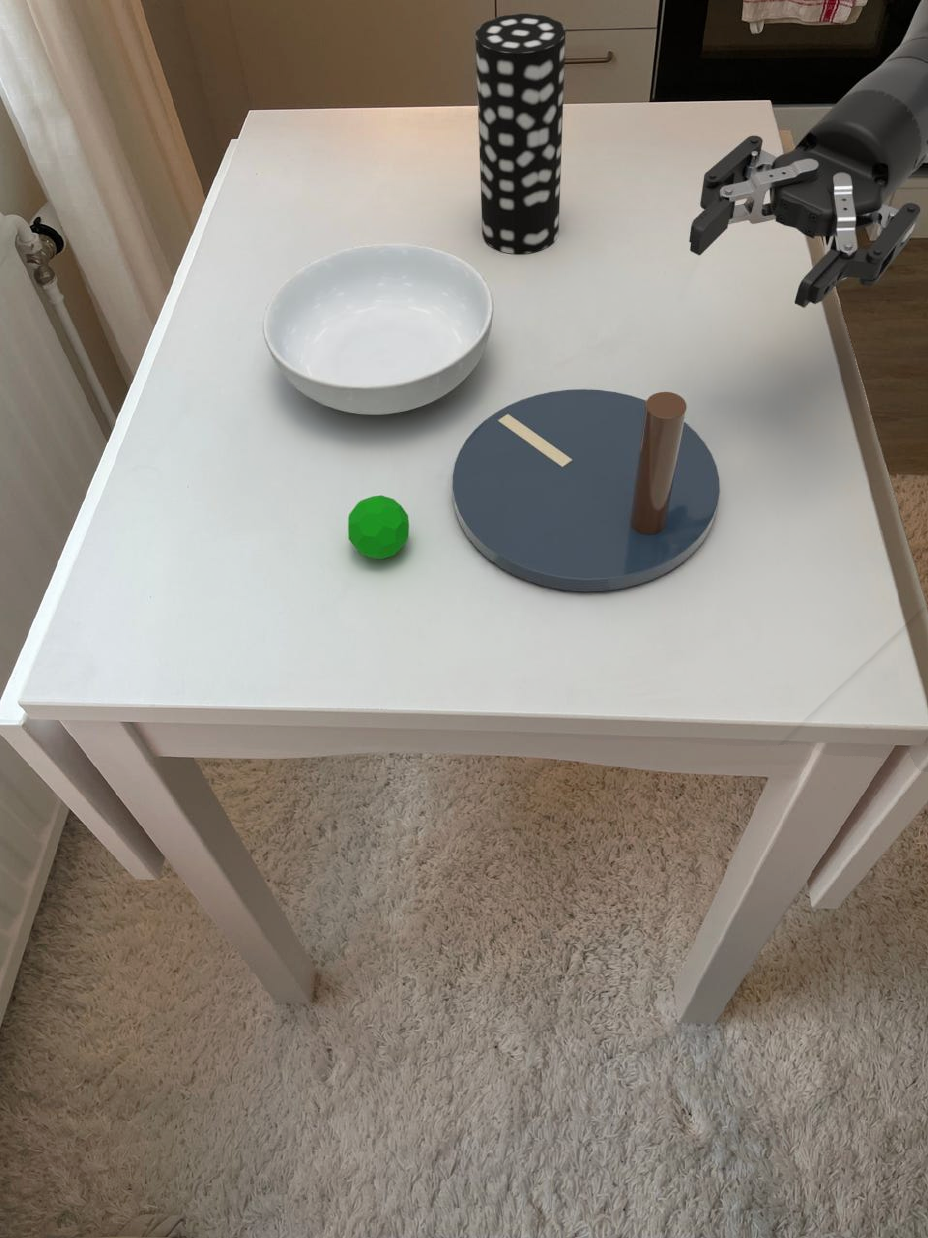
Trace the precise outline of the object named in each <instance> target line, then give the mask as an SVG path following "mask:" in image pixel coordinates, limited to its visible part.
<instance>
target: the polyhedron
mask: <svg viewBox="0 0 928 1238" xmlns="http://www.w3.org/2000/svg"><path fill="white" fill-rule="evenodd" d="M347 522H348V523H347V524H348V527H347V528H348V529H347V532H348V534H347V535H348V541H349V542H350V543H351V544H352V546H353V547H354V548H355V550H357V551H358V552H359V553H360V554H361V556H364V557H368V558H370V559H374V560H379V559H380V560H381V559H386V558H389V557H393V556H395V555H397V553H398V552H400V550H401V549H402V547H403V546H404V545H405V543H406V542H407V540H408V539H409V536H410V535H409V533H410V522H409V514H408V513H407V512H406V510H405V509H404V507H403V506H402V505H401V504H400V503H399V502H397V500H395V499H394V498H391V497H388V496H385V495H382V494H381V495H374V496H370V497H367V498H364V499H362V500H361V499H360V501H359V502H357V504H356V505H355V506H354V507H353V509H352V510H351V511H350V512H349V514H348V519H347Z"/></svg>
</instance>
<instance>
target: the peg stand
mask: <svg viewBox="0 0 928 1238" xmlns="http://www.w3.org/2000/svg"><path fill="white" fill-rule="evenodd" d="M687 408H688V406H687V403H686V400H685V399H684V398H683V397H682V396H681V395H680V394H677V393H674V392H670V391H658V392H656V393H653V394H652V395H650V396H648V398H647V400H646V399H643V398H639V397H637V396H634V395H630V394H626V393H621V392H616V391H610V390H604V389H590V388H588V389H587V388H579V389H563V390H554V391H548V392H545V393H539V394H535V395H532V396H529V397H525V398H522V399H520V400H518V401H516V402H513V403H511V404H509V405H506V406H505V407H503V408H501V409H499V410H498V411H496V412H494V413H493V414H491V415H490V416H489V417H488V418H486V419H485V420H484V421H482V422H481V423H480V424H479V425H478V426H477V427H476V428H475V429H474V430H473V431H472V432H471V433H470V435H469V436H468V437H467V438H466V439H465V441H464V443H463V444H462V447H461V448H460V450H459V452H458V455H457V457H456V460H455V462H454V466H453V472H452V497H453V498H452V499H453V504H454V505H453V506H454V510H455V513H456V514H455V515H456V517H457V519H458V521H459V524H460V527H461V528H462V530H463V531H464V533H465V535H466V537H467V539H469V541H470V542H471V543H472V544H473V546H474V547H475V548H476V550H478V551H479V552H480V553H481V554H482V555H483V556H484V557H486V559H488V560H489V561H491V562H492V563H493V564H495V566H497V567H499V569H500V568H501V569H502V570H505V572H508V573H510V574H512V575H514V576H515V577H518V578H520V579H522V580H525V581H528V582H530V583H534V584H535V585H540V586H543V587H547V588H551V589H558V590H563V591H571V592H572V591H573V592H605V591H606V592H607V591H614V590H620V589H625V588H629V587H633V586H638V585H641V584H644V583H646V582H649V581H652V580H655V579H657V578H659V577H661V576H663V575H664V574H667V573H668V572H671V571H672V570H674V569H675V568H676V567H678V566H680V565H681V564H683V563H684V562H685V561H686V560H687V559H688V558H689V557H690V556H692V554H694V553H695V552H696V550H697V549H699V547H700V546H701V544H702V543H703V542H704V541H705V539H706V537H707V535H708V533H710V530H711V529H712V526H713V524H714V521H715V518H716V515H717V511H718V505H719V500H720V493H721V487H720V475H719V471H718V466H717V464H716V462H715V459H714V457H713V454H712V452H711V451H710V449H709V448H708V445H707V444H706V442H705V441H704V440H703V439H702V438H701V437H700V435H699V434H698V433H697V432H696V431H695V430H694V429H693V427H691V426H690V425H689V424H688V423H686V422H685V418H686V413H687Z"/></svg>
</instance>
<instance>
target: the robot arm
mask: <svg viewBox="0 0 928 1238" xmlns="http://www.w3.org/2000/svg"><path fill="white" fill-rule="evenodd" d="M762 147H763V138H762V137H761V136H759V135H750V136H748V137H746V138H745V139H744V140H743V141H742V142H740V143H739V144H738V145H736V146H735V147H734V148H733V149H732V150H731V151H730V152H729V153H727V154H726V155H725V156H724V157H722V158H721V159H720V160H719V161H718V162H717V163H716V164H714V165H713V166H711V168H710V169H709V170H708V171H706V172H705V173H704V176H703V180H702V181H703V182H702V189H701V196H700V203H699V206H700V208H701V209H702V211H701V213H699V214H698V215H697V216H696V217H695V218H694V219H693V220H692V222H691V226H690V233H689V238H688V239H689V240H688V242H689V243H690V247H689V251H690V252H691V253H693V254H695V255H698V256H701V255H702V254H703V253H704V252H705V251H707V249H708V248H709V247H710V246H711V245H712V244H713V243H714V242H715V241H717V239H718V238H719V237H721V235H722V234H723V233H724V232H725V231H726V230H727V229H728V227H729V225H732V224H737V223H741V222H746V221H749V223H750V224H752V225H756V224H761V223H765V222H770V221H774V220H775V221H774V222H777V223H778V224H781V225H783V226H786V227H790V228H794V229H796V230H797V231H799V232H800V233H801V234H802V235H804V236H807V237H809V238H810V239H815V238H816V237H819V238H822V240H823V248H824V249H823V250H824V255H823V256H822V258H821V259H820V260H819V261H818V262H817V263H816V264H815V265H813V267H812V268H811V269H810V270H809V271H808V272H807V274H806V275H805V276H804V277H803V278H802V280H801V281H800V283H799V285H798V288H797V292H796V295H795V299H794V304H795V305H797V306H799V307H800V308H803V309H805V308H806V307H807V306H808V305H809V304H813V305H816V304H818V303H820V302H822V301H823V300H824V299H825V298H826V297H827V296H828V295H829V294H830V293H831V292H832V290H833V289H834V288H835V287H836V286H837V285H838V284H839V283H840V282H841V281H844V280H846V279H847V278H855V279H858V282H859V283H860V284H861V285H862V286H865V287H872V286H874V285H876V283H877V282H878V281H879V280H880V278H881V277H882V276H883V275H884V273H885V272H886V271H887V269H888V268H889V267H890V265H891V264H892V263H893V262H894V260H895V259H896V258H897V256H899V254H900V252H901V251H903V248H905V246H906V245H907V244H908V242H909V241H910V238H911V236H912V233H913V231H914V228H915V225H916V224H917V221H918V218H919V215H920V213H921V207H920V206H919V205H918V204H917V203H913V202H908V203H905V204H903V205H902V206H901V207H900V208H899V209H898V208H896V207H894V206H891V205H888V204H885V203H886V202H887V201H888V199H890V197H891V196H892V195H893V194H894V193H895V192H896V191H897V190H898V189H899V188H900V186H902V185H903V183H904V182H905V181H906V180H907V179H908V178H909V177H910V176H911V175H912V174H913V173H915V172H916V171H918V169H919V168H920V167H921V166H922V165H923V163H924V162H925V161H926V160H927V157H928V0H920V2H919V4H918V6H917V8H916V10H915V12H914V15H913V17H912V18H911V21H910V24H909V26H908V29H907V31H906V33H905V34H904V36H903V39H902V41H901V43H900V45H899V46H898V47H896V49H895V50H894V51H893V52H892V53H891V54H890V55H889V56H888V57H887V58H886V59H885V60H884V61H883V62H882V63H881V64H880V65H879V66H878V67H877V68H876V69H874V70H873V71H872V72H870V73H868V74H867V75H866V76H864V77H863V78H862V79H860V80H859V81H858V82H857V83H856V84H855V85H854V86H853V87H852V88H851V89H849V91H847V93H846V94H845V95H843V97H842V98H840V99H839V101H838V102H836V104H834V106H832V108H831V109H830V110H829V111H827V112H826V114H825V115H824V116H822V117H821V118H820V119H819V121H817V122H816V123H815V124H814V125H813V126H812V127H811V128H810V129H809V130H808V131H807V132H806V133H805V134H804V136H803V137H802V138H801V140H800V141H799V142H798V143H797V145H796V146H795V148H793V149H792V150H790V151H788V152H786V153H785V152H784V153H782V154H780V155H778V156H775V155H773V154H772V153H770V152H767V151H766V150H763V149H762ZM768 191H769V202H768V203H764V202H765V198H766V193H767V192H768ZM743 200H746V201H744V203H742V204H737V205H736V202H738V201H743ZM873 224H876V225H877V227H878V228H877V231H876V235H877V238H876V239H875V240H874V241H873V243H872V244H871V245H870V247H868V249H865V248H861V247H859V245H858V240H857V231H856V230H860V229H863V228H867V227H870V226H871V225H873Z"/></svg>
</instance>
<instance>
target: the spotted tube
mask: <svg viewBox="0 0 928 1238" xmlns="http://www.w3.org/2000/svg"><path fill="white" fill-rule="evenodd" d="M566 34H567V33H566V27H565V26H564V25H563V24H562V23H561V22H560V21H558V20H557V19H555V18H552V17H550V16H547V15H542V14H536V13H513V14H506V15H501V16H497V17H494V18H491V19H489V20H487V21H486V22H483V23H482V24H481V25H480V26H479V27H478V28H477V30H476V32H475V62H476V63H475V65H476V86H477V87H476V88H477V89H476V91H477V92H476V93H477V118H478V121H477V122H478V148H479V179H480V203H481V204H480V206H481V232H482V238H483V240H484V242H485V244H487V245H488V246H489V247H491V248H492V249H494V250H497V251H499V252H502V253H505V254H513V255H526V254H532V253H536V252H539V251H543V250H544V249H547V248H548V247H550V246H551V245H552V244H553V243H555V241H557V239H558V236H559V234H560V233H559V231H560V203H561V201H560V200H561V176H562V146H563V120H564V117H563V116H564V91H565V90H564V89H565V88H564V87H565V63H566V62H565V60H566V57H565V56H566Z"/></svg>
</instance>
